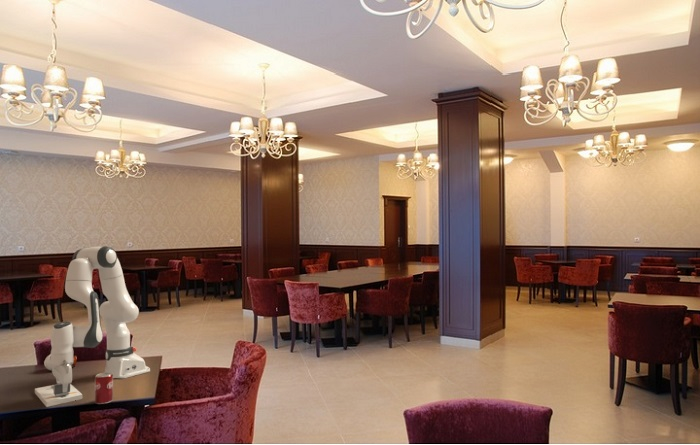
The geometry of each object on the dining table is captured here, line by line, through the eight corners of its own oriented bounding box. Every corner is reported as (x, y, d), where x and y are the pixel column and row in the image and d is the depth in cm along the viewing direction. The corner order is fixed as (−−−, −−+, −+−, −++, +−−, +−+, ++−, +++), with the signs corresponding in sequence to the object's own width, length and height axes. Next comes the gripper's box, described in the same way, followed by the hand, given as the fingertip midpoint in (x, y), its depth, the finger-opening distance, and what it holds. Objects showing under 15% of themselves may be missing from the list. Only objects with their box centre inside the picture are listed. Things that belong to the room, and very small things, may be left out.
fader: (68, 391, 217) (68, 381, 217) (70, 393, 214) (70, 383, 214) (53, 394, 213) (53, 383, 213) (55, 397, 210) (55, 386, 210)
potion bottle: (42, 374, 257) (73, 372, 266) (45, 366, 251) (77, 364, 261) (42, 358, 262) (73, 356, 271) (46, 350, 256) (77, 349, 266)
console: (68, 386, 233) (68, 381, 233) (82, 398, 214) (82, 394, 215) (34, 392, 223) (34, 388, 223) (46, 407, 205) (46, 402, 205)
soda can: (93, 405, 206) (94, 378, 206) (95, 400, 213) (95, 373, 213) (112, 403, 209) (112, 375, 209) (113, 397, 216) (113, 371, 216)
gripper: (76, 361, 209) (76, 393, 208) (64, 353, 223) (64, 382, 223) (59, 364, 204) (59, 396, 204) (49, 355, 219) (48, 385, 219)
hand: (62, 389), depth 214 cm, fingers open, 8 cm apart
